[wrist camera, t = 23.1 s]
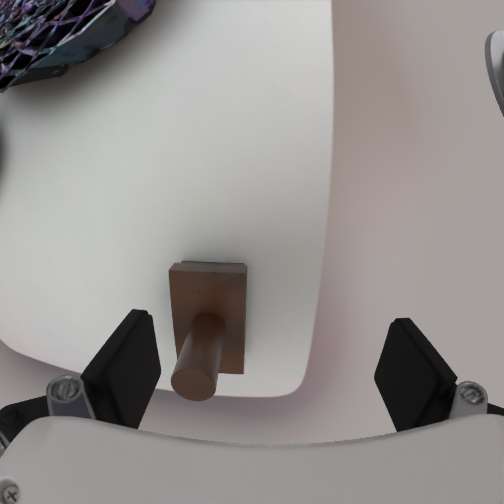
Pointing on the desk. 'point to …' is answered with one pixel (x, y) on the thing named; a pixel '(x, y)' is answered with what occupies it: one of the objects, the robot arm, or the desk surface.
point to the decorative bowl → (60, 34)
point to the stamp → (207, 324)
